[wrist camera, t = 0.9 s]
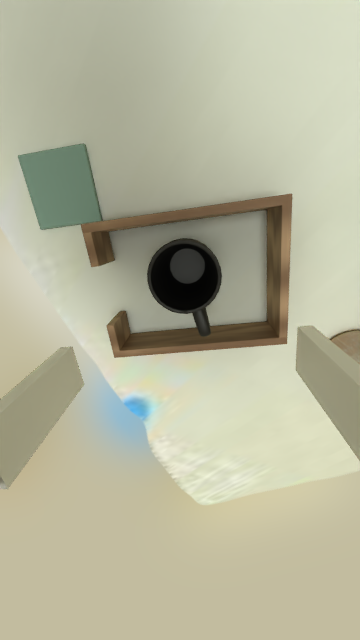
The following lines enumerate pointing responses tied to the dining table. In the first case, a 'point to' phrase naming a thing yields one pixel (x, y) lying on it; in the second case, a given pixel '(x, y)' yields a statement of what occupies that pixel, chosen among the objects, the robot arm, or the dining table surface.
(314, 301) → the dining table surface
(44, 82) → the dining table surface
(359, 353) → the planter
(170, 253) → the mug
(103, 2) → the dining table surface
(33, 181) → the mat
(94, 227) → the wooden tray frame
